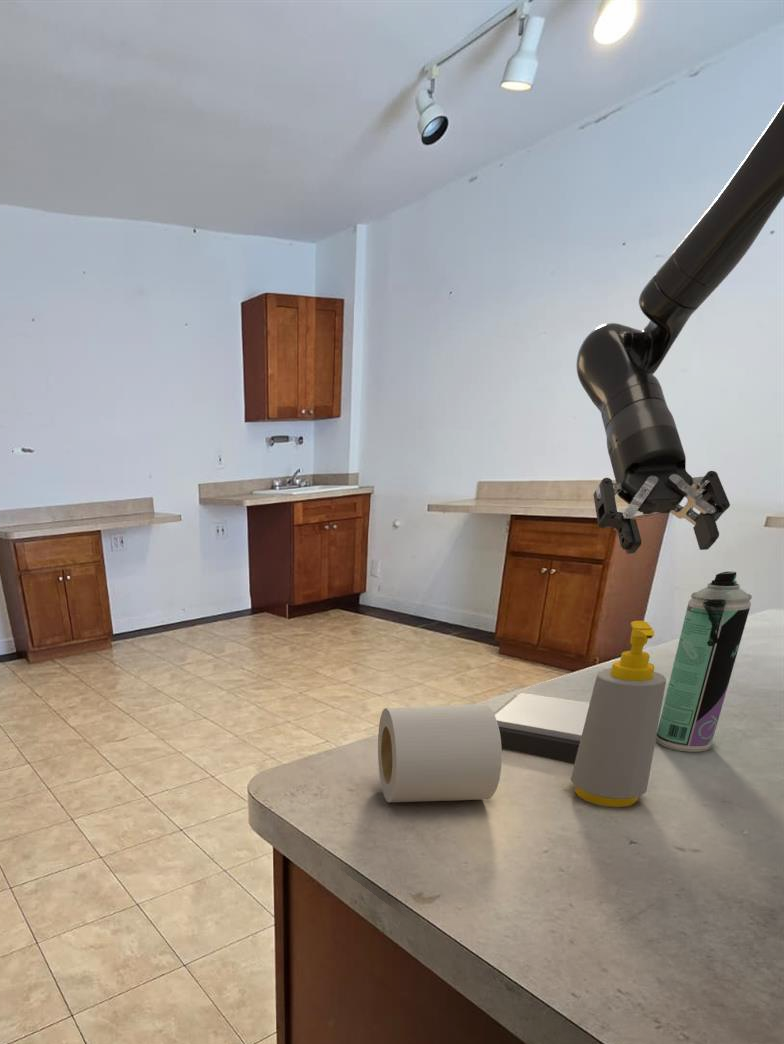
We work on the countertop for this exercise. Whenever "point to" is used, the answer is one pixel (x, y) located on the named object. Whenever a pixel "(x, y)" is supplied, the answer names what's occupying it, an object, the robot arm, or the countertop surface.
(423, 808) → the countertop surface
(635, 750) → the soap bottle
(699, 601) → the spray can
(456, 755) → the toilet paper
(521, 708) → the scale
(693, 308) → the robot arm
